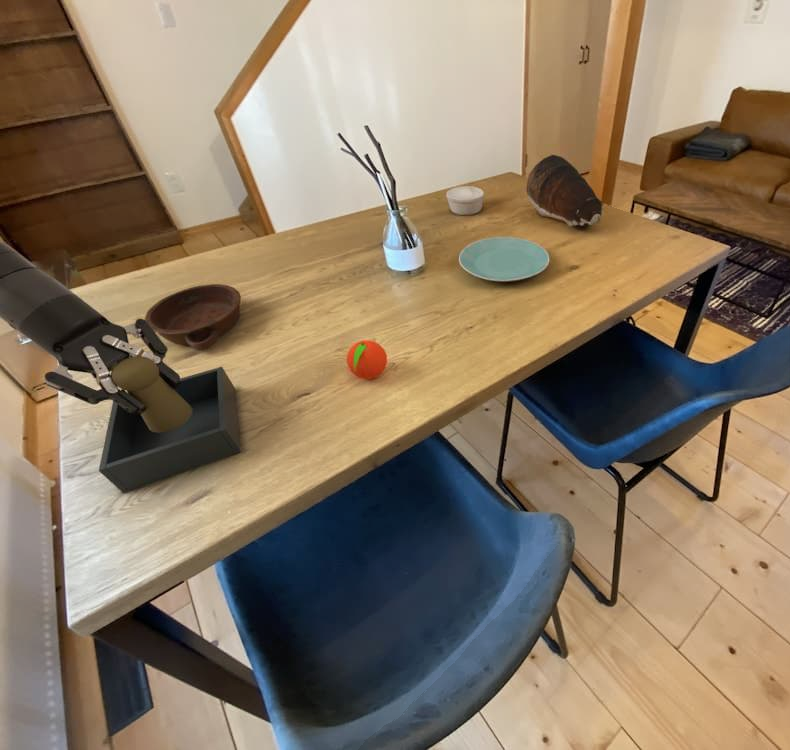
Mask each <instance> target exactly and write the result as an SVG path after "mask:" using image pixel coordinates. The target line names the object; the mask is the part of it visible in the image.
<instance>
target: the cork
mask: <svg viewBox="0 0 790 750" xmlns="http://www.w3.org/2000/svg"><path fill="white" fill-rule="evenodd" d="M110 375H111V378H112V380H113V382H114V383H115V384H116V385H117V387H118V389H120V390H122V389H123V390H125V391H126V392H127V393H129V394H130V395H131V396H133V397H134V398H136V399H137V400H138V401H140V402H141V403H142V404H144V405H145V406H146V407H147V408H146V411H145V412H143V413H142V414H141V416H142V418H143V419H144V421H145V423H146V424H147V426H148V428H149V430H151V431H153V432H157V433H162V432H168V431H171V430H174V429H176V428H178V427H180V426H181V425H183V424H184V423H185V422H186V421H187V420H188V419H189V418H190V417H191V415H192V407H191V406H190V405H189V404H188V403H187V402H186V401H185V400H184V399H183V398H182V397H181V396H180V395H179V394H178V393H177V392H176V391H175V390H174V389H173V388H172V387H170V386H169V385H168V384H167V383H166V382H165V381H164V380H163V379H162V378H161V377H160V376H159V369H158V367H157V365H156V364H155V362H154V361H152V360H151V359H149V358H147V357H143V356H136V357H131V358H127V359H125V360H123V361H121V362H119V363H118V364H117V365H116V366H114V368H113V369H112V371H110Z"/></svg>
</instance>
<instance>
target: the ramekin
mask: <svg viewBox="0 0 790 750" xmlns="http://www.w3.org/2000/svg"><path fill="white" fill-rule="evenodd" d="M484 192H485V191H484V190H483V189H481V188H479V187H476V186H469V185H466V186H456V187H453V188H451V189H449V190H447V192H446V194H445V195H446V199H447V201H448V205H449V209H450V211H451V212H452V213H454V214H455V215H458V216H473V215H476V214H479V212H480V211H481V210H482V209H483V202H484V197H485V193H484Z"/></svg>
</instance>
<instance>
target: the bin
mask: <svg viewBox="0 0 790 750" xmlns="http://www.w3.org/2000/svg"><path fill="white" fill-rule="evenodd" d="M179 380H180V381H181V383H180V385H179V386H178V387H176V388H173V387H172V388H173V389H174V390H175V391H176V392H177V393H178V394H179V395H180V396H181V397H182V398H183V399H184V400H185V401H186V402H187V403H188V404H189V405H190V406H191V407H192V415H191V417H190V418H189V419H188V420H187V421H186V422H185V423H184V424H183V425H181V426H180V427H178V428H176V429H174V430H171V431H168V432H162V433H157V432H153V431H151V430H149V428H148V426H147V424H146V423H145V421H144V419H143V418H142V416H141V414H139V413H138V412H136V413H134V414H133V413H130V412H128V411H127V410H126V409H124V408H123V407H121V406H120V405H118V404H117V403H116V402H114V401H113V400H112V403H111V404H112V405H111V408H110V414H109V418H108V422H107V423H108V424H107V429H106V433H105V439H104V442H103V443H104V444H103V447H102V453H101V457H100V462H99V467H98V472H99V473H100V474H102V475H103V477H105V478H106V479H107V480H108V481H109V482H110V483H111V484H112V485H114V486H115V488H117V489H118V490H119V491H120V492H121V493H122V494H125V493H128V492H130V491H134V490H137V489H139V488H143V487H146V486H147V485H151V484H154V483H156V482H160V481H162V480H165V479H168V478H171V477H173V476H176V475H180V474H182V473H185V472H188V471H191V470H195V469H197V468H200V467H202V466H205V465H208V464H211V463H215V462H217V461H220V460H223V459H225V458H226V459H227V458H228V457H230V456H234V455H237V454H240V453H242V447H241V445H242V444H241V434H240V424H239V423H240V422H239V410H238V399H237V389H236V388H235V386H234V384H233V382H232V381H231V379H230V378H229V375H228V374H227V372H226V371H225V369H224V367H223V366H219V367H216V368H211V369H208V370H205V371H202V372H197V373H195V374H191V375H188V376H184V377H180V379H179ZM167 384H168V383H167ZM168 385H169V384H168ZM169 386H170V385H169ZM170 387H171V386H170Z"/></svg>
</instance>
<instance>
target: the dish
mask: <svg viewBox="0 0 790 750" xmlns="http://www.w3.org/2000/svg"><path fill="white" fill-rule="evenodd" d="M241 299H242V297H241V293H240V291H239V290H238V289H236V288H235V287H233V286H231V285H227V284H222V283H211V284H203V285H197V286H196V285H195V286H193V287H189V288H185V289H183V290H180V291H176V292H174V293H172V294H170V295H167V296H165V297H163V298H162V299H160V300H158V301H157V302H156V303H155V304H154V305H152V306H151V307H150V308H149V309H148V310H147V312H146V313H145V316H144V320H145V321H146V322H147V323H148V324H149V326H150V327H151V328H152V330H153V331H154V332H155V333H156V334H157V335H159V336H161V337H162V338H163V339H165V340H167V341H168V342H170V343H173V344H177V345H187V346H189V347H191V348H192V349H193V350H195V351H205V350H207V349H210V348H211V347H213V346H214V345H215V344H216V343H217V341H218V339H219V337H221V336H223V335H225V334H226V333H228V332H229V331H231V330H232V329H233V328H234V326H236V324H237V323H238V322H239V319H240V315H241Z"/></svg>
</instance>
